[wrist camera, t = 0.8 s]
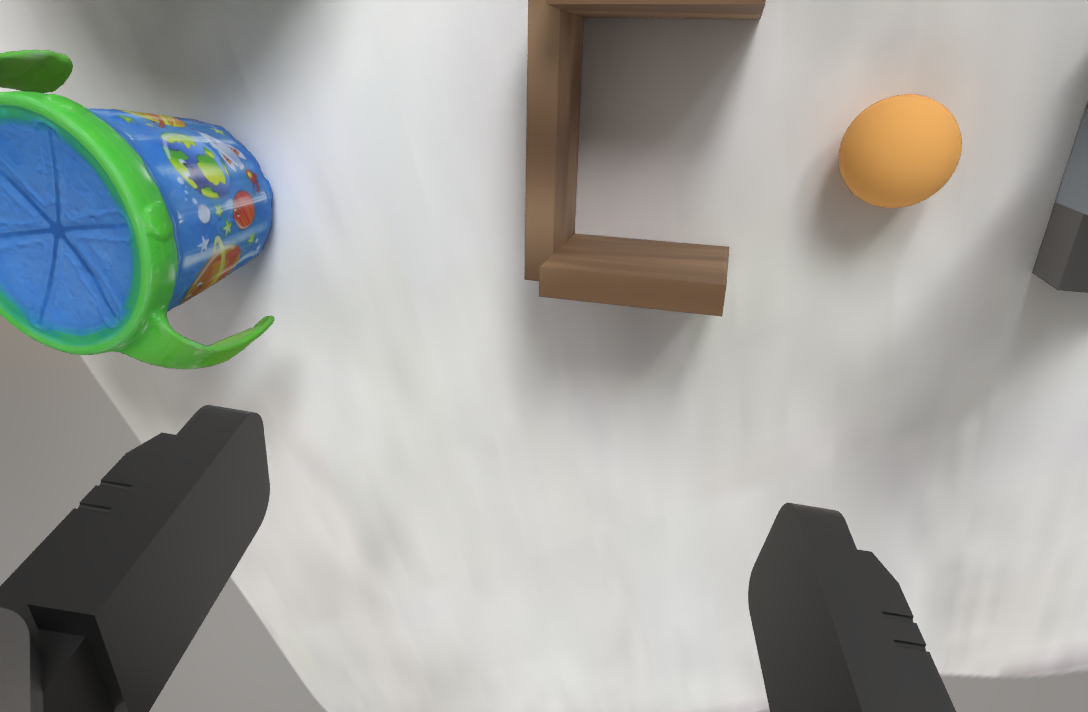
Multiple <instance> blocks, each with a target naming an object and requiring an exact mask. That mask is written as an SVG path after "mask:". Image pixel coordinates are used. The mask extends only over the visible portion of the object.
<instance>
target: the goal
mask: <svg viewBox="0 0 1088 712" xmlns="http://www.w3.org/2000/svg"><path fill="white" fill-rule="evenodd" d="M764 6H765V0H528V66H527V140H526V214H525V280H534V281H539V296H540V297H549V298H558V299H567V300H576V301H585V302H595V303H604V304H613V305H622V306H631V307H641V308H650V309H659V310H668V311H677V312H687V313H696V314H705V315H714V316H722V313H723V306H724V298H725V291H726V283H727V269H728V256H729V247H723V246H711V245H699V244H688V243H676V242H664V241H652V240H641V239H629V238H617V237H605V236H594V235H582V234H575V210H576V187H577V163H578V140H579V117H580V93H581V70H582V47H583V23H584V18H684V19H760V18H761V15H762V12H763V9H764Z"/></svg>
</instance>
